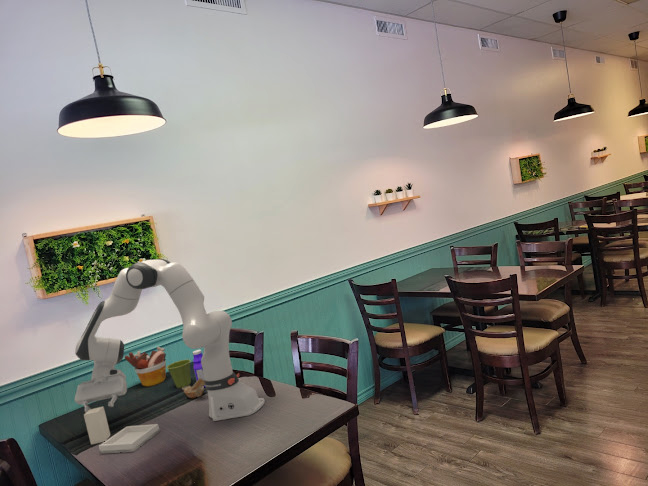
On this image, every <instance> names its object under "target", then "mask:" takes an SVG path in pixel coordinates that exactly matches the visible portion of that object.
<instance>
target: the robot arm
mask: <svg viewBox="0 0 648 486" xmlns="http://www.w3.org/2000/svg"><path fill="white" fill-rule="evenodd" d="M158 286H159V287H160V286H162V287H163V288H164V289H165V291H166V292H167V294H168V296H169V298H170V299H171V300H172V302H173V304H174V305H175V307H176V309H177V311H178V312H179V315H180V317H181V321H182V326H183V328H182V329H183V330H182V334H181V336H182V340H183V343H184V344H185V345H186V346H187V348H190V349H193V350H199V349H202V348H203V352H202V355H203V356H202V359H201V364H202V368H203V373H204V377H205V380H204V382H205V389H206V392H207V397H208V398H207V399H208V409H209V410H208V417H210V418H211V419H212V421H213V422H216V421H222V420H223V421H224V420H229V419H235V418H239V417H248V416H251V415H252V414H254V413H256V412H258V411H259V410H260V409H261V408H262V407H263V406H264V405H265V403H266V401H265V398H264V397H259V395H258V393H257V391H256V389H255V388H254V387H253V386H250V385H248V384H246V383H244V382H242V381H240V380H239V377H240V373H239V372H238V373H237V374H236V373H235V372H234V371H233V365H232V362H231V361H232V360H231V358H230V348H229V346H230V331H231V328H232V326H233V321H232V318H231V316H230V314H229V313H228V312H227V311H224V310H213V311H211V312H209V313H207V311H206V309H205V308H206V307H205V304H204V301H205V295H204V293H203V292H202V290H201V289H200V287H199V285H197V283H196V281H195V280H194V278H193V277H192V275H191V274H190V273H189V272H188V271H187V269H186V268H185V267H184V266H183V265H182V264H181V263H180V262H177V261H176V262H175V261H173V262H171V261H170V260H168V259H165V258H156V259H147V260H146V259H145V260H143V261H139V262H136V263H133V264H132V265H130V266H128V267H125V268H122V269H121V270H120V271H119V274H118V275H117V276H116V279H115V281H114V285H113V287H112V290H111V293H110V295H109V296H108V297H107V298H106V299H105V300H103V301H101V302H99V303H98V305H97V307H96V308H95V310H94V312H93V314H92V315H91V317H90V319H89V322H88V323H87V326H86V327H85V330H84V331H83V333H82V335H81V337H80V338H79V340H78V341H77V343H76V345H75V348H74V349H75V351H74V352H75V353H74V354H75V356H76V357H77V358H78V359H79V360H80V361H93V369H92V372H91V378H90V379H91V380H86V381H82V382H81V383H80V384H78V385H77V387H76V392H75V396H74V402H75V403H76V404H78V405H83V406H84V412H85V413H86V412H88V411H89V410H90V409H92V408H91V407H90V405H89V404H90V403H93V402H99V401H102V400H106V399H107V400H108V399H111V400H110V401H108V403H107V406H108V407H109V408H113V407H114V403H115V402H116V401H117V400H118V397H119V396H124V395H125V394H126V393H127V392H128V383H127V381H126V379H127V376H126V375H125V373H124V372H123V371H122V370H120V369H118V368H117V369H116V368H115V366H116V365H117V364H119V363H120V362H122V361H123V359H124V357H125V356H124V355H125V343H124V342H123V340H121V339H119V338H110V337H102V336H96V333H97V332H98V330H99V328H100V326H101V324H102V323H103V322H104V321H105V320H107V319H111V318H115V317H121V316H124V315H129V314H130V313H132V312H133V311H134V310H136V308H137V306H138V304H139V301H140V297H141V295H142V291H143V290H146V289H149V288H155V287H158Z"/></svg>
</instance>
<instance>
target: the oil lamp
mask: <svg viewBox="0 0 648 486" xmlns="http://www.w3.org/2000/svg"><path fill="white" fill-rule="evenodd" d="M204 386H205V382H204V380H203V379H201V378H199V379H198V381H197V380H196V382H195V383H193V385H192V386H191V385H186V386H185V387H183V388H181V389H182V391H183V393H184V394H185V395H186V397H188V398H189V399H195V398H196V397H197V398H199V397H200V398H201V396H203V393H204V390H205V388H204Z"/></svg>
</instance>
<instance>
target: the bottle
mask: <svg viewBox="0 0 648 486" xmlns="http://www.w3.org/2000/svg"><path fill="white" fill-rule="evenodd" d="M192 355H193V360H192V362H193V372H194V375H195V378H196V382H197V381H198V379H199V378H201V379H203V380H205V377H204V373H203V368H202V364H201V359H202V356H203V352H202V349H195V350H194V351H192ZM204 387H205V386H204ZM205 388H206V387H205Z"/></svg>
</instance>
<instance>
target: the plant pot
mask: <svg viewBox="0 0 648 486" xmlns="http://www.w3.org/2000/svg"><path fill="white" fill-rule="evenodd" d="M191 361H192V360H191V359H181V360H178V361H174V362H173V363H170V364H169V365H167V366H166V370H167V371H168V372H169V373H170V375H171V378H172V381H173V382H174V385H175V387H176V388H177V389H182V388H183V387H185V386H191V383H192V377H191Z"/></svg>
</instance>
